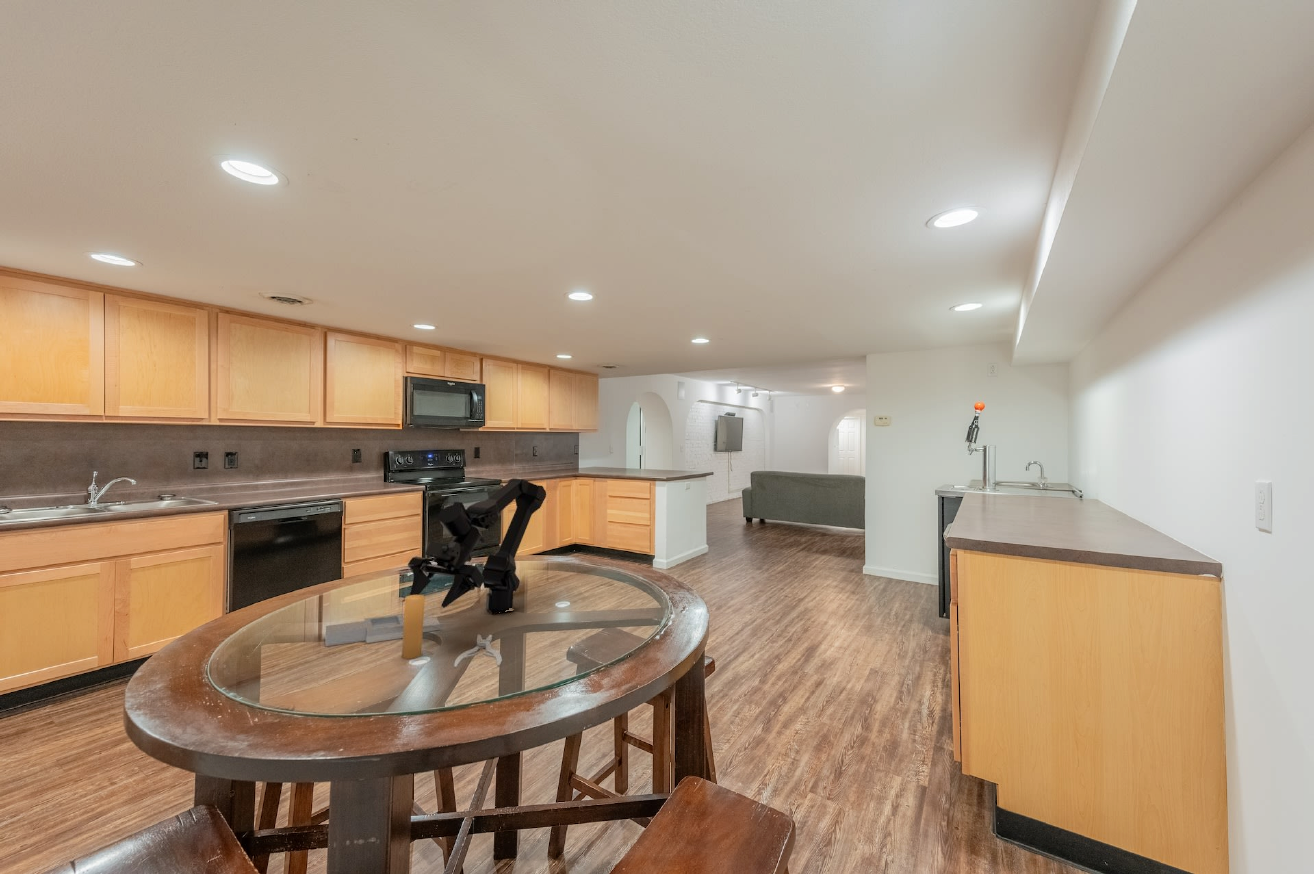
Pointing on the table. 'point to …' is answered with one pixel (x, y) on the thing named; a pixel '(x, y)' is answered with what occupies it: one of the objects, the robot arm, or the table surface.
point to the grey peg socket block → (372, 630)
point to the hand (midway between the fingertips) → (426, 603)
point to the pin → (413, 626)
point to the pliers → (480, 644)
